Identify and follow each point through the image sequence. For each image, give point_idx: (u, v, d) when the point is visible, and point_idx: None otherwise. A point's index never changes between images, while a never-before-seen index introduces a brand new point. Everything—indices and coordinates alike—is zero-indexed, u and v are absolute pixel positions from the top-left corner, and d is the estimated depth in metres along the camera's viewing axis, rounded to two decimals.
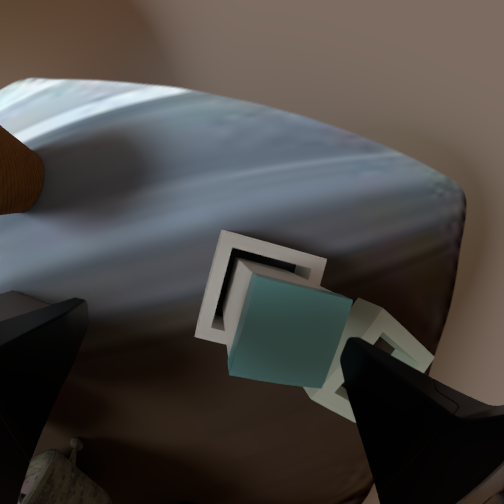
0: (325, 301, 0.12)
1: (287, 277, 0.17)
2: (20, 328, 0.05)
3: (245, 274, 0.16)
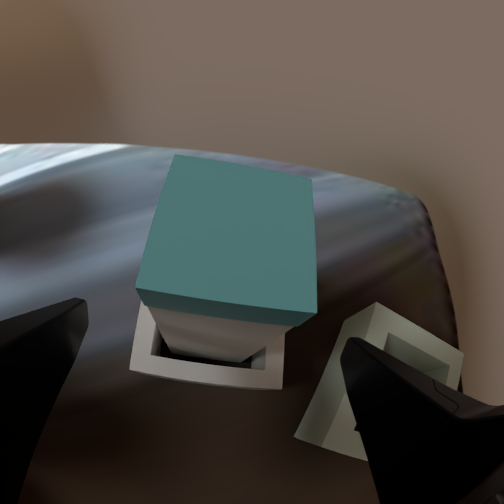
0: (272, 177, 0.09)
1: None
2: (20, 328, 0.05)
3: None
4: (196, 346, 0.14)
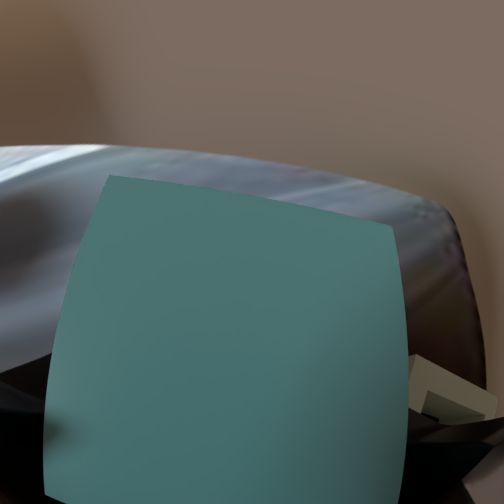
0: (322, 228, 0.04)
1: None
2: None
3: None
4: None
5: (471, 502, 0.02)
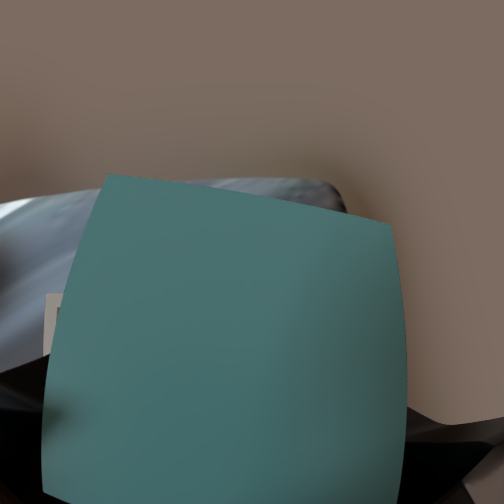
0: (320, 226, 0.04)
1: None
2: None
3: None
4: None
5: (471, 502, 0.02)
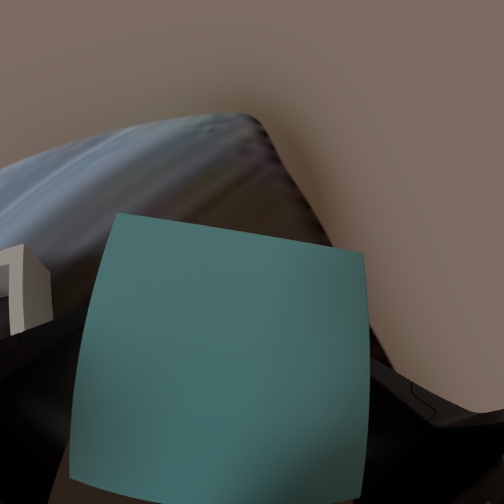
0: (298, 258, 0.05)
1: None
2: (47, 338, 0.05)
3: None
4: None
5: None
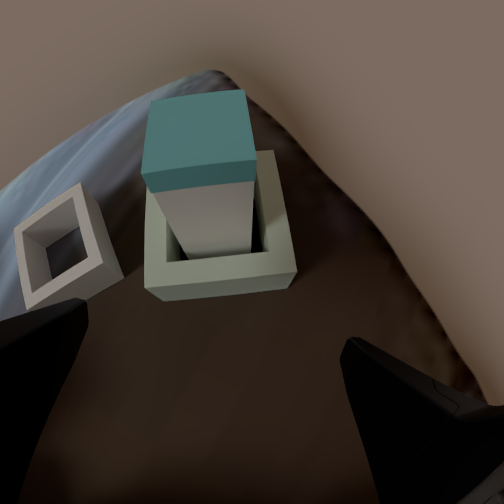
0: (216, 95, 0.12)
1: None
2: (20, 328, 0.05)
3: None
4: (205, 242, 0.18)
5: None
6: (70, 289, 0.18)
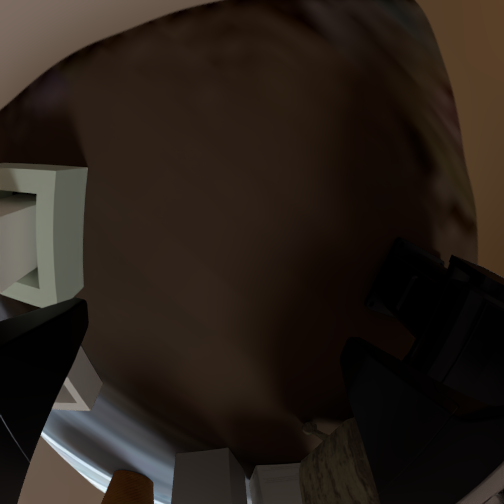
0: None
1: None
2: (20, 328, 0.05)
3: None
4: (25, 252, 0.15)
5: None
6: (70, 369, 0.19)
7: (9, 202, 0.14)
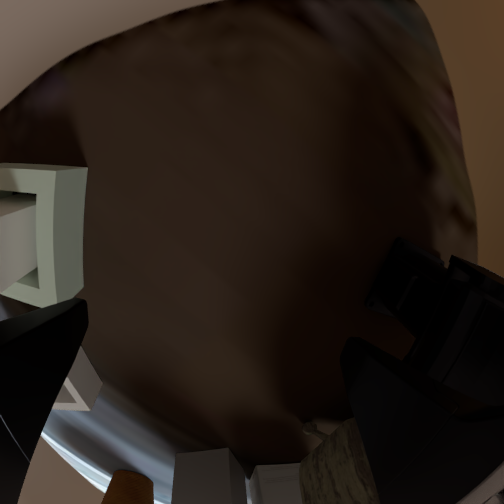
0: None
1: None
2: (20, 328, 0.05)
3: None
4: (25, 252, 0.15)
5: None
6: (70, 369, 0.19)
7: (9, 202, 0.14)
